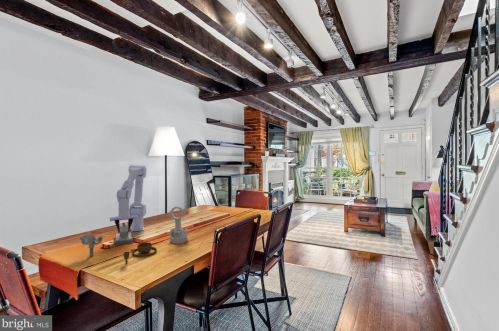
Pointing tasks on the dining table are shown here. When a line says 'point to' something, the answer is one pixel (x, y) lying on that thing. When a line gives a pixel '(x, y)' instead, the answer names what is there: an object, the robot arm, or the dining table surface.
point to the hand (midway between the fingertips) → (123, 232)
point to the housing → (123, 229)
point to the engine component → (177, 228)
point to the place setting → (141, 250)
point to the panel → (123, 239)
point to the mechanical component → (90, 242)
